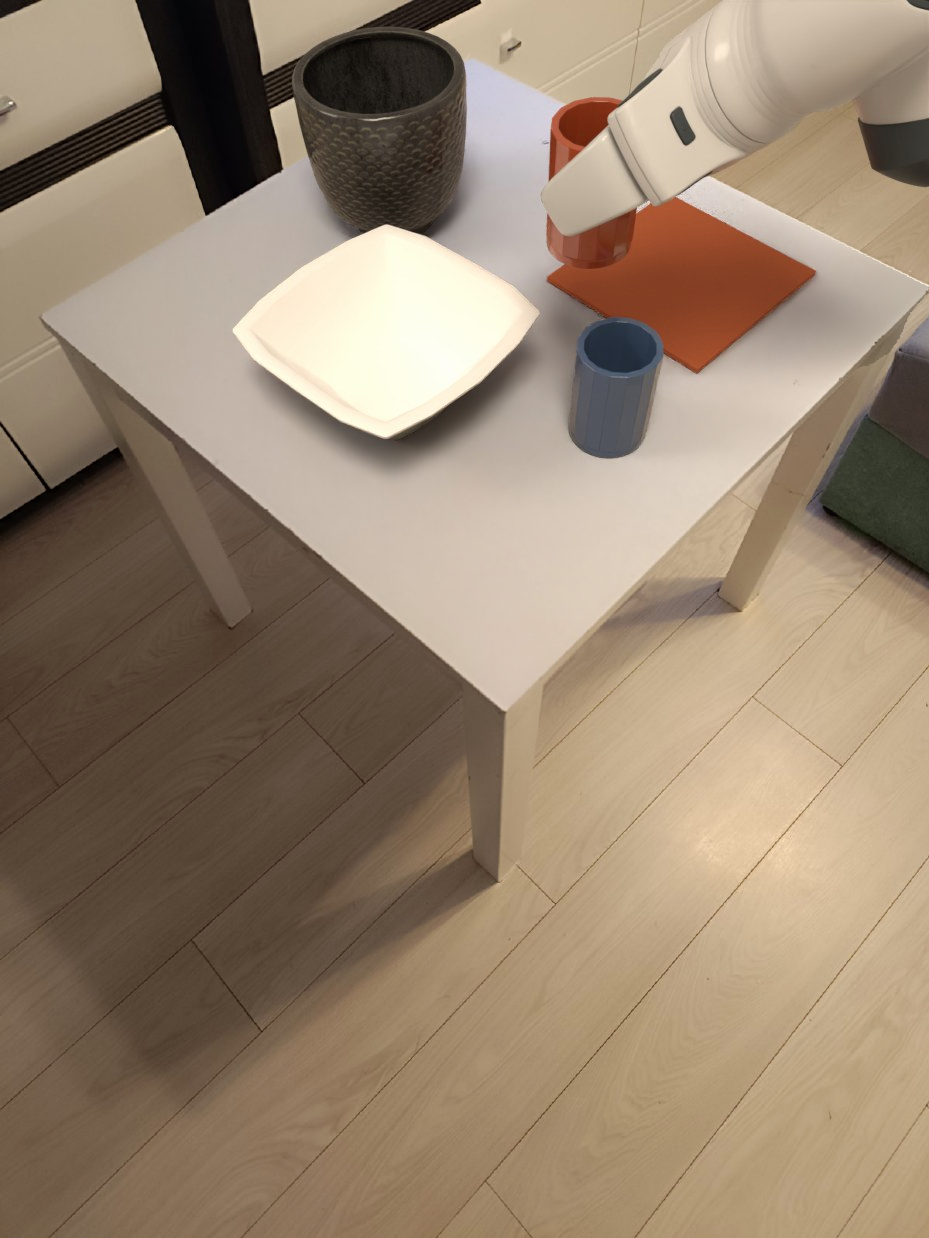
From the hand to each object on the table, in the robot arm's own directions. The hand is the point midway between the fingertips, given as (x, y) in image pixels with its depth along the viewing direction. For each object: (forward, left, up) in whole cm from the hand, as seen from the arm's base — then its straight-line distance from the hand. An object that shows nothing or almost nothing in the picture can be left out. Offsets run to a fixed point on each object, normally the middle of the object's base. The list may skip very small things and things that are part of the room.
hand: (587, 178), depth 68 cm
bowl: (+17, +5, -20) cm, 26 cm away
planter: (+21, -22, -20) cm, 36 cm away
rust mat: (-11, -14, -19) cm, 26 cm away
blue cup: (-4, +8, -19) cm, 22 cm away
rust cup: (-1, 0, -5) cm, 5 cm away
